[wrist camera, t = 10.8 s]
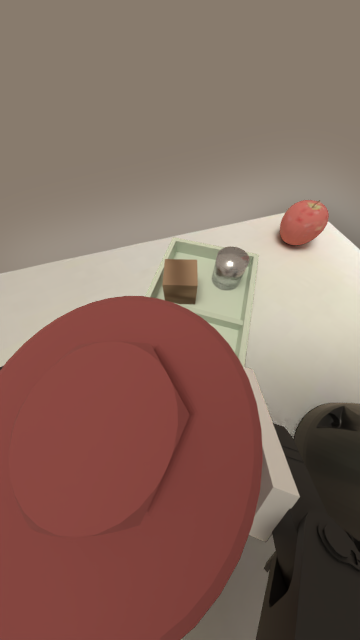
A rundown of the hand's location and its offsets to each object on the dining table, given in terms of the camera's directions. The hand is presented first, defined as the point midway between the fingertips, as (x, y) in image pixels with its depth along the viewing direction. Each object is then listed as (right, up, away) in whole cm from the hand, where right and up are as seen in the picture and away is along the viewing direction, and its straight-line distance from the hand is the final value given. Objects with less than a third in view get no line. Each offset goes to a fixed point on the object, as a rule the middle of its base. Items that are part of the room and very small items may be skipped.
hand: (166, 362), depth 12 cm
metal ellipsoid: (+9, +10, +18) cm, 23 cm away
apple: (+25, +20, +24) cm, 40 cm away
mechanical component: (-1, -5, +3) cm, 6 cm away
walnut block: (+1, +8, +17) cm, 19 cm away
